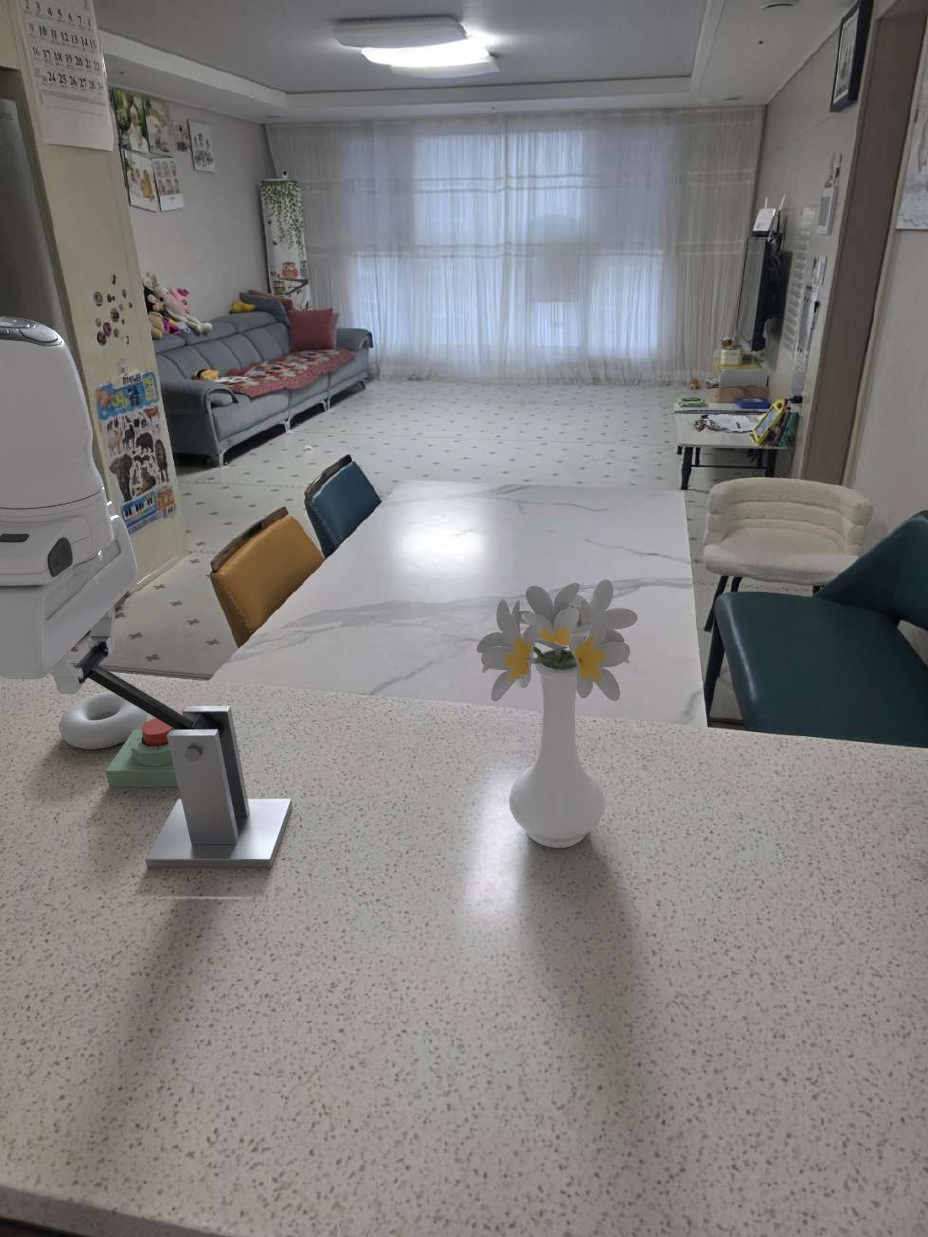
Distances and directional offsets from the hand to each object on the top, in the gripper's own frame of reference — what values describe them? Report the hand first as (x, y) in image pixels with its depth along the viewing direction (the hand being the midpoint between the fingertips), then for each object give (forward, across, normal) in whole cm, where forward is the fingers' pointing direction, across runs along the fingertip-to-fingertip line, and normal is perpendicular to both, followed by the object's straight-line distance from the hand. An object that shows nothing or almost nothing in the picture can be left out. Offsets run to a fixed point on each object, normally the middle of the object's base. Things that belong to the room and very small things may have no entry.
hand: (88, 671), depth 74 cm
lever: (+4, 0, +4) cm, 6 cm away
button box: (+19, -12, 0) cm, 23 cm away
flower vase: (+18, -2, +43) cm, 46 cm away
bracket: (+19, 0, +10) cm, 21 cm away
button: (+15, -12, 0) cm, 20 cm away
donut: (+20, -19, -10) cm, 29 cm away
